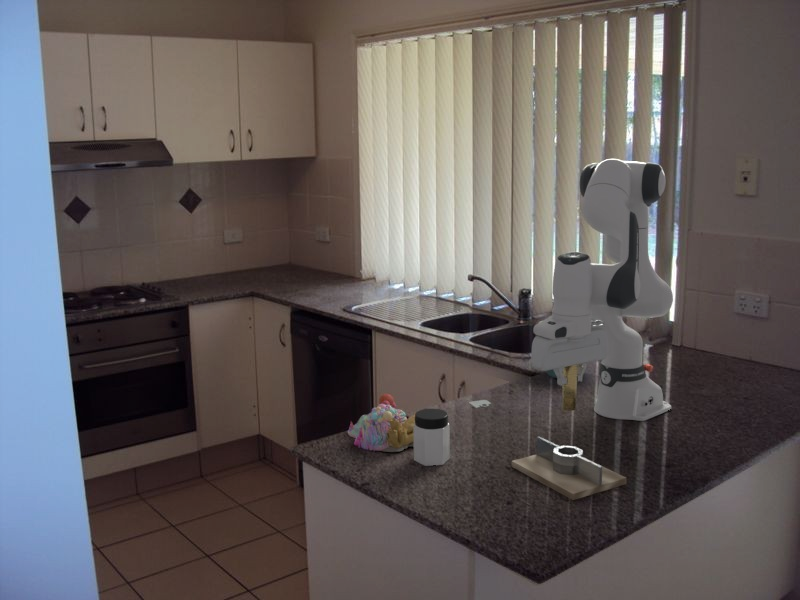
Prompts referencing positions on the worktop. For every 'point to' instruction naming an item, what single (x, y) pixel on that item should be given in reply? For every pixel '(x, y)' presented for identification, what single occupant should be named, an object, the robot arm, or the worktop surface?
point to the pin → (570, 388)
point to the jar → (431, 437)
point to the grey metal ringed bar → (569, 461)
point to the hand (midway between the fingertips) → (569, 383)
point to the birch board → (566, 478)
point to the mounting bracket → (480, 403)
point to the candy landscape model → (384, 428)
